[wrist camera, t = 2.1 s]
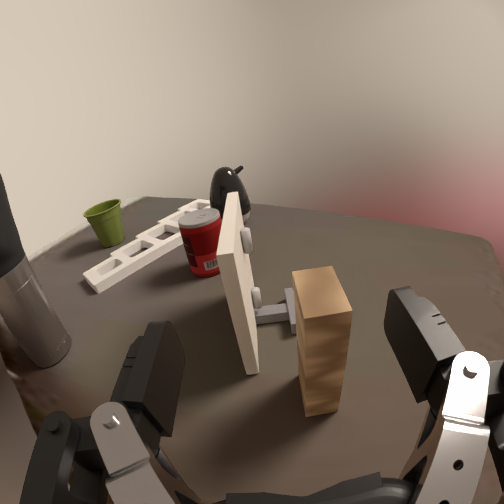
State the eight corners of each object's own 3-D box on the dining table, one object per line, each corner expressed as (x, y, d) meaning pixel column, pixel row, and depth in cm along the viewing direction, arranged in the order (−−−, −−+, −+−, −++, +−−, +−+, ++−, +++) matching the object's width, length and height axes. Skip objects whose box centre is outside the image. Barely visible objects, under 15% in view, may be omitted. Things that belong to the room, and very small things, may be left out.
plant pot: (88, 253, 73) (75, 217, 68) (110, 234, 83) (99, 201, 78) (117, 251, 70) (104, 213, 65) (139, 231, 80) (128, 196, 75)
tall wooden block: (305, 416, 26) (304, 318, 19) (298, 375, 32) (292, 271, 24) (337, 411, 26) (352, 310, 19) (327, 370, 31) (331, 265, 24)
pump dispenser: (261, 222, 72) (252, 164, 65) (224, 236, 68) (212, 175, 61) (241, 213, 80) (232, 160, 73) (208, 224, 76) (196, 170, 69)
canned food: (236, 259, 58) (227, 208, 53) (215, 281, 52) (201, 226, 47) (206, 254, 61) (195, 207, 56) (184, 274, 56) (169, 223, 50)
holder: (99, 296, 54) (94, 285, 52) (77, 272, 65) (73, 263, 63) (240, 213, 81) (238, 204, 80) (200, 206, 93) (198, 198, 91)
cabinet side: (246, 374, 33) (216, 255, 25) (245, 289, 48) (227, 193, 40) (356, 357, 32) (370, 234, 24) (325, 278, 48) (321, 180, 40)
